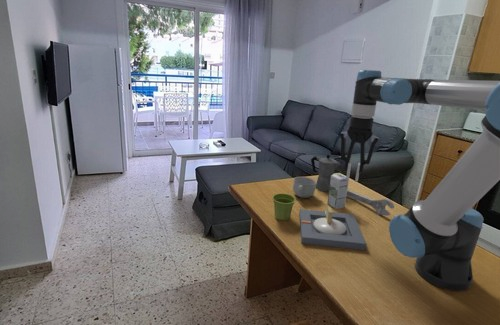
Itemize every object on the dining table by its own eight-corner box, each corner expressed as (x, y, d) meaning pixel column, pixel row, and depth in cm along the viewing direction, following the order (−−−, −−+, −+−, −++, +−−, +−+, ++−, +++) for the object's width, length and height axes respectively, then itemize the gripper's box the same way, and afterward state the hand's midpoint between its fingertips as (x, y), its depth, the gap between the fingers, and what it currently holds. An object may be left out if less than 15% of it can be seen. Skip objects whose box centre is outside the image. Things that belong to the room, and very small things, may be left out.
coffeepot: (339, 188, 157) (344, 155, 152) (333, 194, 150) (338, 159, 144) (312, 181, 165) (315, 149, 160) (304, 186, 158) (308, 153, 152)
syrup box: (345, 207, 136) (350, 177, 132) (335, 209, 134) (339, 179, 129) (336, 202, 141) (340, 173, 136) (326, 204, 138) (330, 174, 134)
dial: (348, 237, 109) (350, 223, 108) (314, 234, 111) (316, 220, 109) (342, 221, 121) (344, 207, 120) (312, 218, 123) (313, 205, 121)
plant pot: (298, 217, 125) (300, 198, 122) (284, 225, 118) (286, 205, 116) (280, 209, 131) (281, 191, 128) (266, 216, 124) (267, 197, 122)
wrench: (342, 198, 153) (393, 219, 126) (340, 199, 152) (389, 220, 125) (343, 183, 151) (395, 201, 124) (341, 183, 150) (391, 202, 124)
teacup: (298, 189, 154) (300, 174, 151) (318, 195, 148) (320, 180, 145) (285, 197, 143) (286, 182, 140) (305, 204, 137) (307, 188, 135)
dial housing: (365, 250, 105) (366, 243, 104) (301, 243, 107) (302, 236, 106) (352, 219, 125) (353, 213, 125) (299, 214, 128) (299, 208, 127)
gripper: (387, 117, 105) (375, 180, 112) (341, 112, 111) (333, 172, 118) (385, 120, 98) (373, 187, 105) (337, 115, 105) (328, 178, 112)
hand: (352, 179), depth 112 cm, fingers open, 3 cm apart
